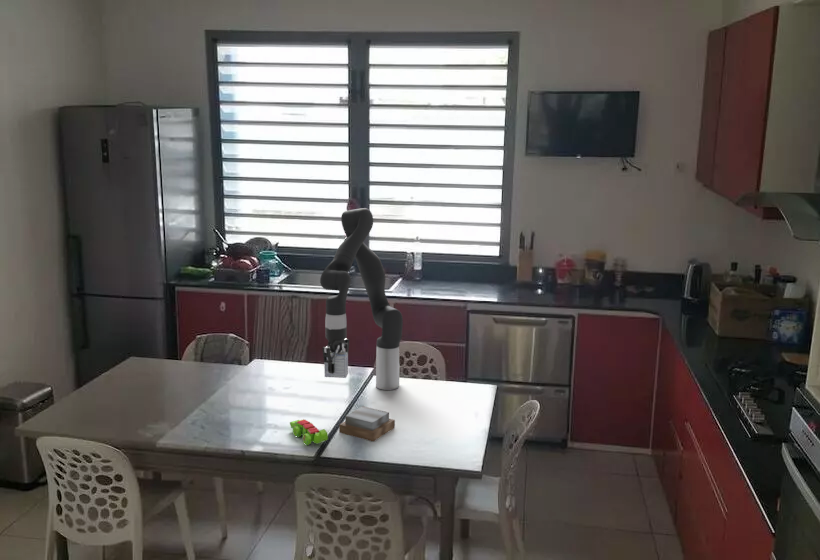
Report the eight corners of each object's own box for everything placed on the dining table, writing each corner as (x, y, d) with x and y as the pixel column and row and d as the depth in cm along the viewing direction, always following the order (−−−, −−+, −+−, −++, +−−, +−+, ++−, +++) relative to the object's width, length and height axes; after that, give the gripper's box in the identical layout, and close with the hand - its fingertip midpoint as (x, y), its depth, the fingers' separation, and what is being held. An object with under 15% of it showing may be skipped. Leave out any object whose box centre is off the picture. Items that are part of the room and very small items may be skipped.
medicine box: (348, 374, 280) (348, 351, 278) (345, 378, 275) (345, 355, 274) (326, 373, 280) (326, 350, 279) (324, 377, 276) (324, 354, 274)
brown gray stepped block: (361, 419, 278) (361, 403, 277) (394, 427, 271) (394, 411, 270) (339, 432, 266) (339, 416, 265) (373, 441, 259) (373, 425, 258)
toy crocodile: (286, 431, 267) (286, 414, 266) (303, 427, 271) (303, 410, 269) (313, 451, 251) (313, 434, 250) (331, 447, 255) (331, 429, 254)
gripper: (338, 319, 282) (338, 363, 285) (315, 328, 269) (316, 374, 273) (355, 322, 278) (355, 366, 282) (333, 331, 266) (333, 378, 270)
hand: (336, 370), depth 277 cm, fingers closed on medicine box, 5 cm apart
